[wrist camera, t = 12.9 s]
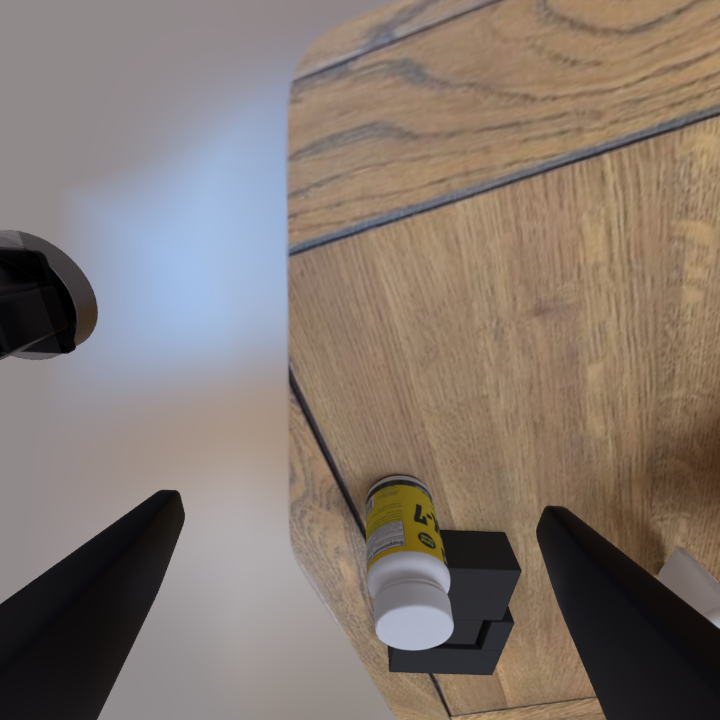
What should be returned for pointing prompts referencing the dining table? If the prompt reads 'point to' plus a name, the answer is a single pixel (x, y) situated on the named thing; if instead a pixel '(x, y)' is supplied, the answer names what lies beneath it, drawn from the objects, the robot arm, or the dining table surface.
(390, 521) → the supplement bottle
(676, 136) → the dining table surface
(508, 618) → the base pad
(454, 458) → the dining table surface
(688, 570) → the pear ornament
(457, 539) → the pad piece
